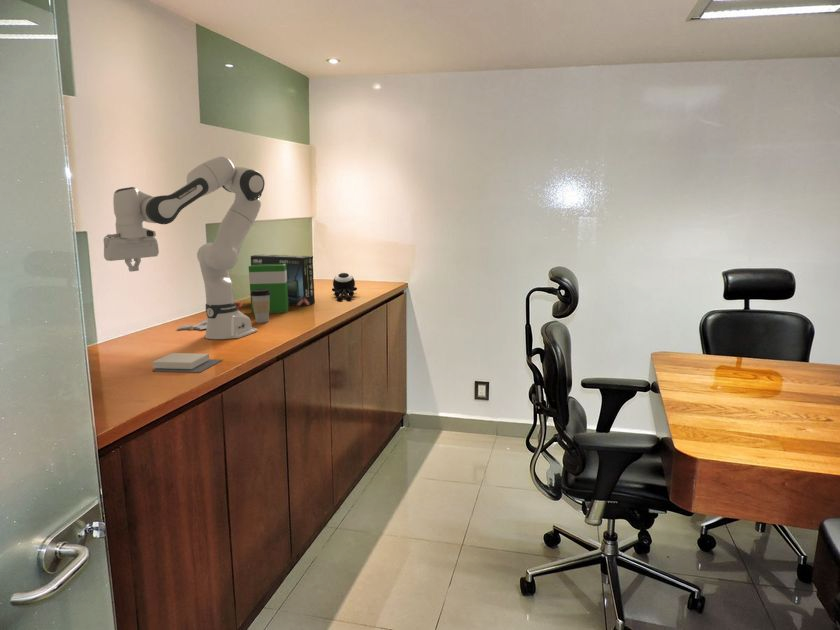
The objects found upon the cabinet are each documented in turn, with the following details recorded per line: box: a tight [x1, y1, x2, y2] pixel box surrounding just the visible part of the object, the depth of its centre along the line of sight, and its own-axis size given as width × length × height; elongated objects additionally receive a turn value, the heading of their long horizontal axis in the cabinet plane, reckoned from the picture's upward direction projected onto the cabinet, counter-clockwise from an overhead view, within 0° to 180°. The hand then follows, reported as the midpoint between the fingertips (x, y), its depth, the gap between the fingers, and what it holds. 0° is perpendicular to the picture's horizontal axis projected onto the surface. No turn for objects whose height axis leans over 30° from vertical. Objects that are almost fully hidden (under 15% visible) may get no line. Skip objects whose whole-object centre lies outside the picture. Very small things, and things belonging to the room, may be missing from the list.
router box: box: [250, 253, 316, 307], centre depth 334 cm, size 36×11×27 cm, turn 66°
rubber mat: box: [152, 358, 223, 374], centre depth 208 cm, size 17×16×1 cm
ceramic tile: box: [152, 352, 210, 369], centre depth 208 cm, size 2×12×14 cm
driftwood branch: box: [177, 319, 207, 331], centre depth 281 cm, size 30×14×2 cm, turn 174°
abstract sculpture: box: [331, 272, 358, 302], centre depth 355 cm, size 15×19×32 cm
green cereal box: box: [248, 264, 290, 314], centre depth 310 cm, size 18×7×24 cm, turn 94°
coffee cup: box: [249, 289, 271, 324], centre depth 283 cm, size 9×9×15 cm
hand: (133, 271), depth 221 cm, fingers closed
